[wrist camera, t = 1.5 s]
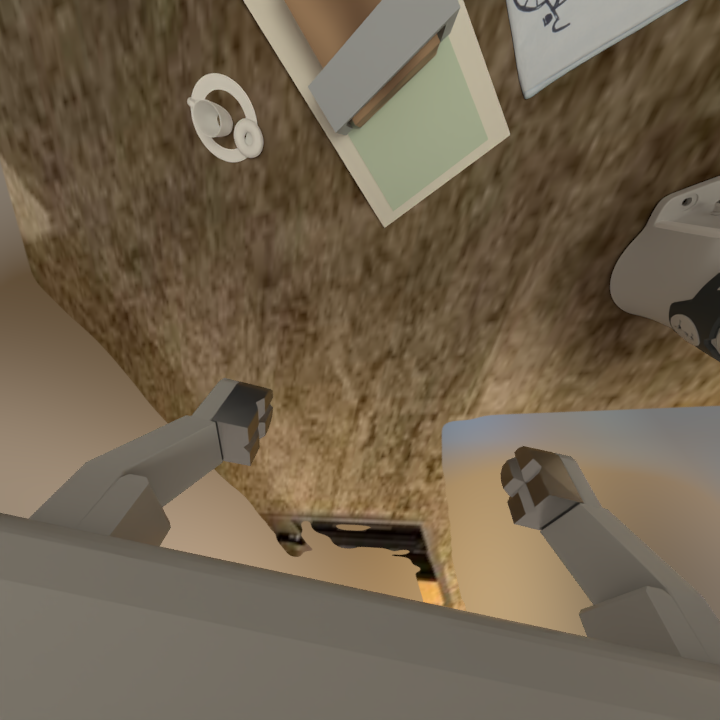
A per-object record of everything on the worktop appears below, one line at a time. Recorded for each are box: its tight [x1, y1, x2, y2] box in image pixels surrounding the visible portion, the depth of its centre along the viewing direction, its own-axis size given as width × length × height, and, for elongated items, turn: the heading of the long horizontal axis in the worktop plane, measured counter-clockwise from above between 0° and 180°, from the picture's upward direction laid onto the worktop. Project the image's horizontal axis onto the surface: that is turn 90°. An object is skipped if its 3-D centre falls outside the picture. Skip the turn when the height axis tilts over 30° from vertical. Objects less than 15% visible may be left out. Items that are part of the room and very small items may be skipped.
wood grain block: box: [284, 0, 440, 128], centre depth 25 cm, size 9×12×4 cm
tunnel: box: [308, 0, 460, 135], centre depth 26 cm, size 12×4×6 cm, turn 126°
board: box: [243, 0, 510, 228], centre depth 28 cm, size 16×28×1 cm, turn 36°
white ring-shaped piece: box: [187, 73, 264, 162], centre depth 32 cm, size 9×8×4 cm
